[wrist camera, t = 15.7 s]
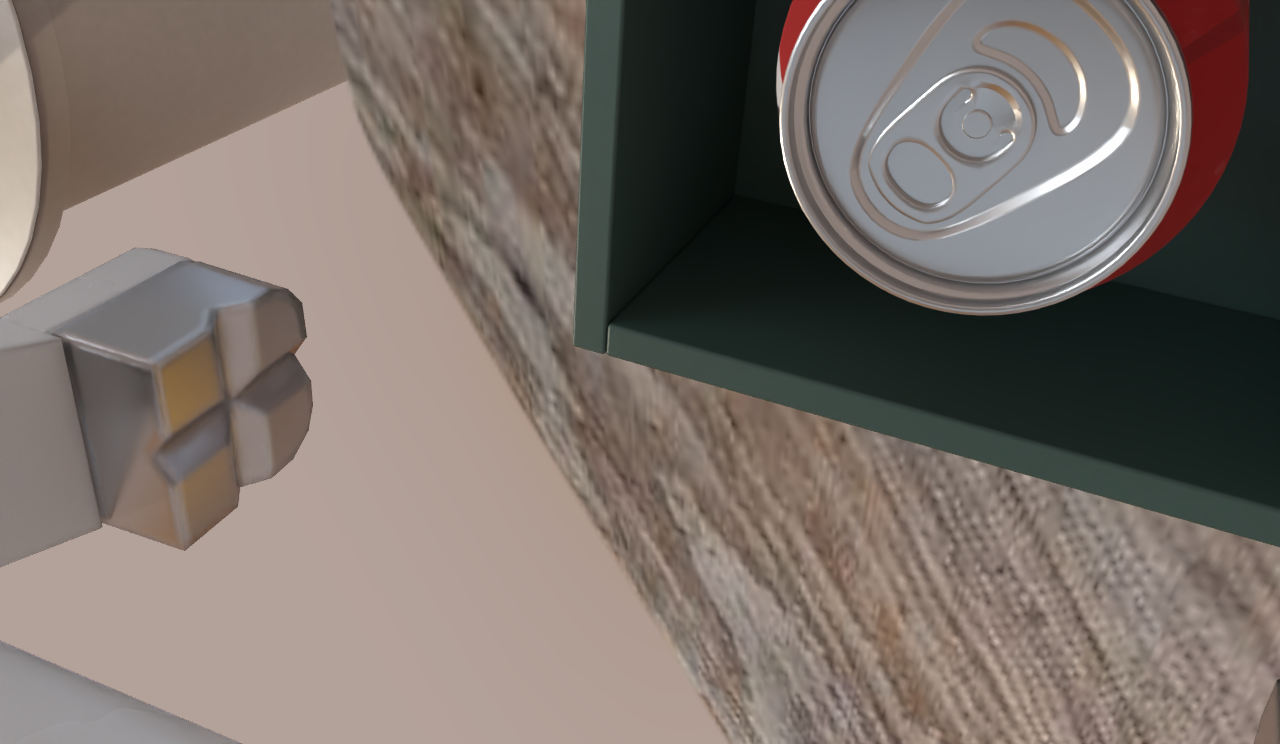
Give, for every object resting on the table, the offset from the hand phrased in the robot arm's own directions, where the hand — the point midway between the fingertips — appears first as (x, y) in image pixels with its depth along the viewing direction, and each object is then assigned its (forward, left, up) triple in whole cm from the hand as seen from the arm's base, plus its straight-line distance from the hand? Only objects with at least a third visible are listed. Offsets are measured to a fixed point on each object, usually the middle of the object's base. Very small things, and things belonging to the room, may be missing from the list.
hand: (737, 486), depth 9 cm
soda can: (0, 0, -21) cm, 21 cm away
